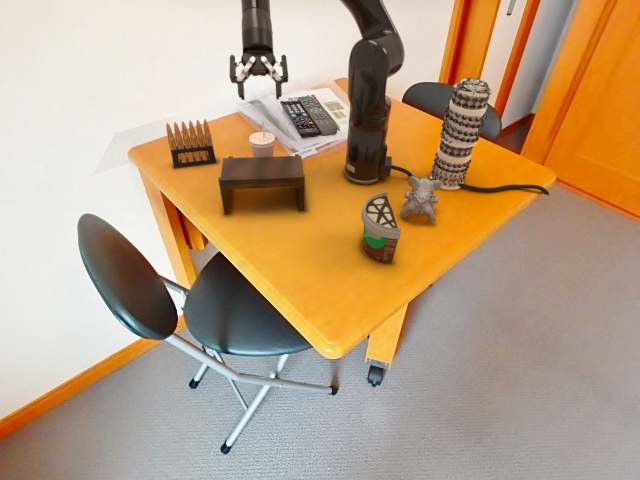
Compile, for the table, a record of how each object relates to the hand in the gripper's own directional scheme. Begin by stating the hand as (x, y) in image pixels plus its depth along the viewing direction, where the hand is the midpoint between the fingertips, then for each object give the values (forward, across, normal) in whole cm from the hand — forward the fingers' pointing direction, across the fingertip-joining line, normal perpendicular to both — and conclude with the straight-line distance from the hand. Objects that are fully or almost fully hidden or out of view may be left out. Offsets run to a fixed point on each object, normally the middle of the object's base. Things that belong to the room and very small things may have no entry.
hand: (260, 98), depth 98 cm
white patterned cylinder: (+22, +46, 0) cm, 51 cm away
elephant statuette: (+30, +35, -8) cm, 47 cm away
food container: (+39, +22, -16) cm, 47 cm away
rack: (+22, 0, 0) cm, 22 cm away
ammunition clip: (+14, -18, +8) cm, 24 cm away
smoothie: (+17, 0, +5) cm, 18 cm away
